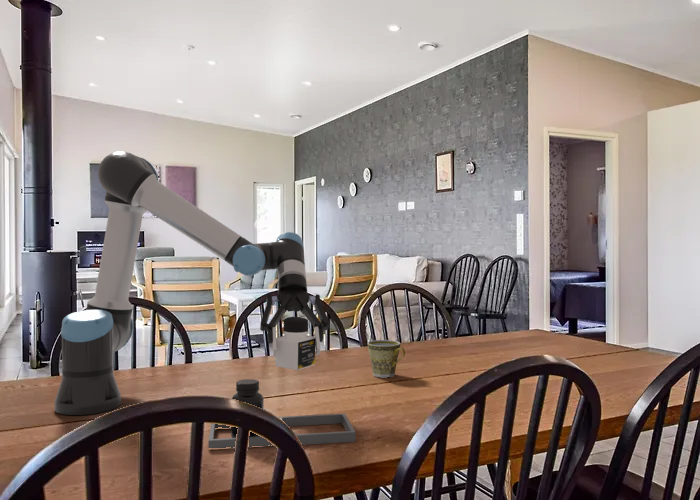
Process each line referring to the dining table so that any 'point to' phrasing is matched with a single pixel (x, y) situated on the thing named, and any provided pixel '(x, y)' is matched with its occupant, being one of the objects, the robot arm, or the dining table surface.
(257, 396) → the supplement bottle
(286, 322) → the medicine bottle
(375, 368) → the ceramic cup
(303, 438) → the tray
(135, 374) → the dining table surface
